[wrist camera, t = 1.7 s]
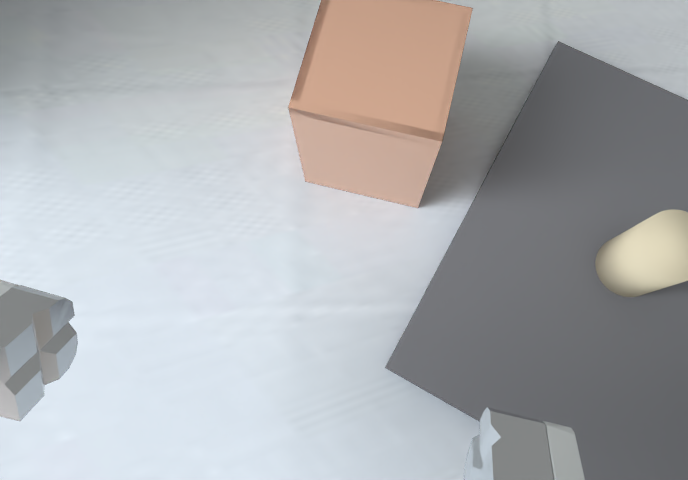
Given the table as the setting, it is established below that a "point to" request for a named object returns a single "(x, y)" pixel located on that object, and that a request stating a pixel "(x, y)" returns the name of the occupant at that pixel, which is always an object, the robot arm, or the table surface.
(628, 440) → the mat
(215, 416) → the table surface
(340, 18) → the light orange rectangular block
